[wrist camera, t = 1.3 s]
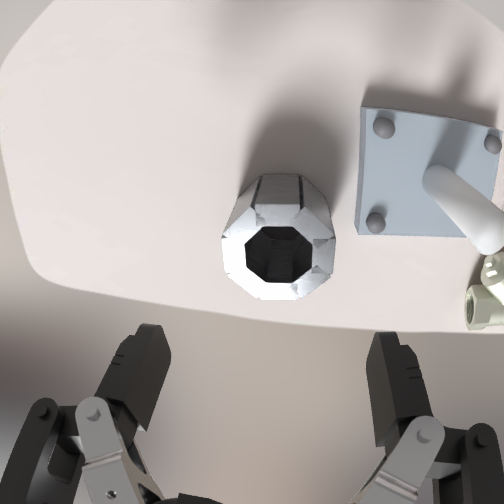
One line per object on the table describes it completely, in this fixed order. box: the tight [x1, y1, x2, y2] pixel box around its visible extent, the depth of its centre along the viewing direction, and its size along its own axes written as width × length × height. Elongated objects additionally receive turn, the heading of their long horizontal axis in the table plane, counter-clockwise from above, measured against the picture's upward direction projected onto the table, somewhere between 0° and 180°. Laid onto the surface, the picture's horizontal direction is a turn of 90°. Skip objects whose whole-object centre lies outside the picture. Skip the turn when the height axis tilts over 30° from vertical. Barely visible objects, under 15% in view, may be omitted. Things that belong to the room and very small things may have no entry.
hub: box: [221, 174, 336, 300], centre depth 19 cm, size 6×6×5 cm
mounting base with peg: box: [354, 106, 504, 255], centre depth 14 cm, size 10×8×8 cm
